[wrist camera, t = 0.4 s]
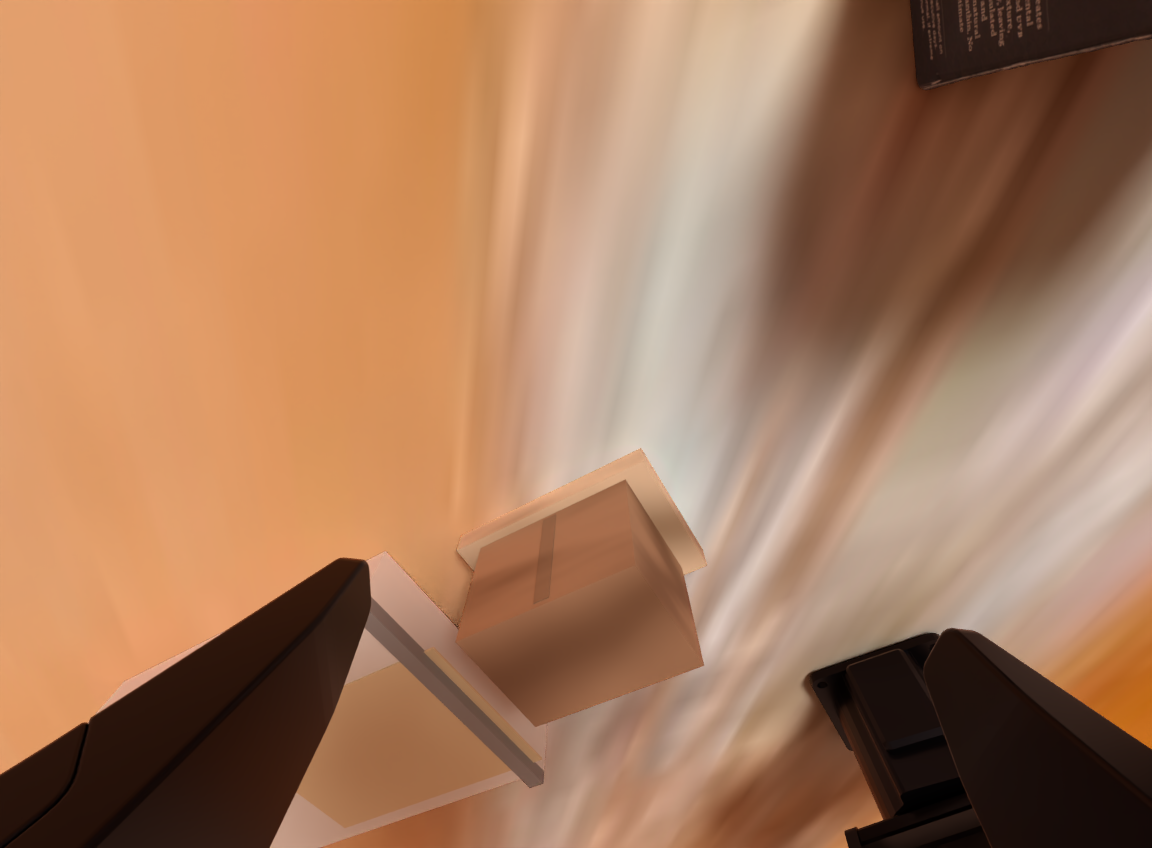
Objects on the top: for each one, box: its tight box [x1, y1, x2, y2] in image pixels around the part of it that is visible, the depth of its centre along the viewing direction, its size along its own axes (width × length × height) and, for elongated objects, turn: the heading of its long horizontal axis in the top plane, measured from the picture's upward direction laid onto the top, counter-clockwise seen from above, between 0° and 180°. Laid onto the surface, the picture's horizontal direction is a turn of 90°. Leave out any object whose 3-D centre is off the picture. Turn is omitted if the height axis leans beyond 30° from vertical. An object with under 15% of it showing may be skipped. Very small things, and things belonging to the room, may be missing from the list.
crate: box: [455, 448, 707, 727], centre depth 22 cm, size 6×9×6 cm, turn 120°
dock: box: [88, 551, 547, 848], centre depth 28 cm, size 14×18×3 cm
